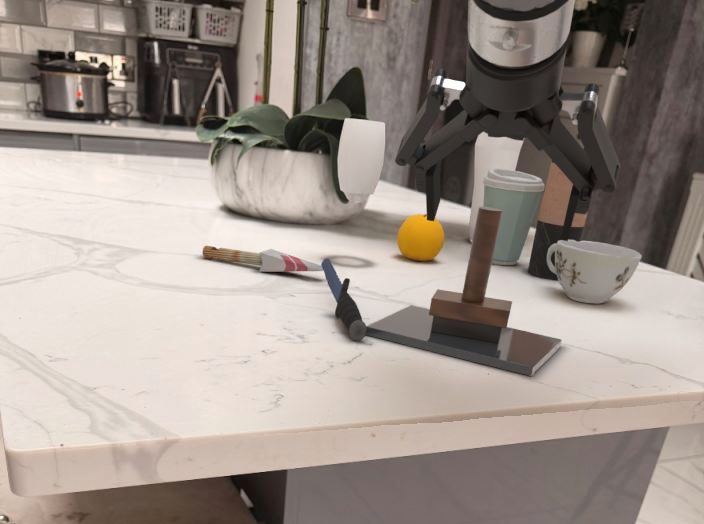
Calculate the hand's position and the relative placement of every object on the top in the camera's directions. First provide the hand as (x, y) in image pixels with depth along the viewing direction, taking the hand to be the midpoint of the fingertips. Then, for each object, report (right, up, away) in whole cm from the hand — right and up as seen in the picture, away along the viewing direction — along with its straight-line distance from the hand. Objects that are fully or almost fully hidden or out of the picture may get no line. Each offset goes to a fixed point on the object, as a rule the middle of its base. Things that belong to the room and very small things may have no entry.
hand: (498, 219), depth 78 cm
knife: (-15, -2, +18) cm, 23 cm away
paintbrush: (-27, +6, +36) cm, 46 cm away
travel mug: (+21, +11, +55) cm, 60 cm away
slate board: (-1, -9, +14) cm, 16 cm away
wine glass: (-14, +11, +48) cm, 51 cm away
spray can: (+15, +25, +78) cm, 83 cm away
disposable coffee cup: (+14, +15, +61) cm, 64 cm away
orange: (-1, +14, +55) cm, 57 cm away
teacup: (+22, +4, +41) cm, 47 cm away
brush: (-1, -9, +13) cm, 16 cm away
